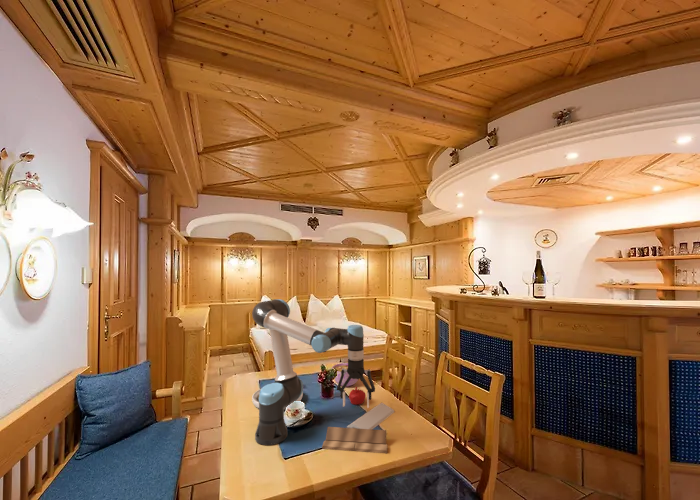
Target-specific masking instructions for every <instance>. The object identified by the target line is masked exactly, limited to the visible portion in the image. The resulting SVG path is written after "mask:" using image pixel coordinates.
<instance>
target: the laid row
mask: <svg viewBox="0 0 700 500" xmlns="http://www.w3.org/2000/svg"><path fill="white" fill-rule="evenodd" d="M321 448H322V450H334V451H349V452H362V453H363V452H365V453H376V454H377V453H378V454H388V444H387V443H386V444H371V443H355V442H341V441H327V440H326V439H325V440H323V442H322V446H321Z"/></svg>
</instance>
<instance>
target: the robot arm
mask: <svg viewBox="0 0 700 500" xmlns="http://www.w3.org/2000/svg"><path fill="white" fill-rule="evenodd" d="M251 313H252V314H251V316H252V319H253V322H254V323H255V324H257V325H258V326H260V327H262V328H264V329H266V330H267V329H268V330H269V334H270V338H271V347H272V352H273V358H274V364H275V370H276V377H275V378H274V382H271V383H268V384H265V385H264V386H262V387H261V388H262V389H261V388H260V389H261V390H260V393H259V408H258V409H259V410H258V425H257V427H256V430H255V435H254V440H255V443H257V444H259V445H262V446H273V445H277V444H280V443H282V442H283V441H285V440H286V439H287V437H288V428H287V424H286V422H285V410H284V408H285V407H287V406H288V405H290V404H291V403H293V402H294V401H296V400H297V399H298V398H299V397H300V396H301V395H302V392H303V393H304V383H303V381H302V379H300V377H299V376H298V373H297V372H296V371H294V368H293V360H292V355H291V349H290V344H289V338H288V337H290V338H293V339H295V340H297V341H300V342H302V343H304V344H307V345H309V346H311V348H312V349H313V350H314V352H316V353H317V354H318V353H319V354H320V353H325V352H327V351H328V350H330V349H332V348H335V347H336V346H337V345H338V346H339V345H341V346H347V363H348V369H344V368H343V369H342V370H341V377H340V380H339V383H337V387H336V391H339V392H340V399H342V407H345V406H346V390H345V388H347V387H346V386H347V384H348V382H349V381H350V379H351V378H352V379H358V380H360V382H361V383H362V384H363V386H364V387H365V389H366V390H367V392H366V407H367V409H369V408H370V400H372V393H375V392H376V387H375V385H374V381H373V378H372V375H371V369H365V366H364V365H365V364H364V362H365V361H364V360H365V359H364V352H365V351H364V350H365V349H364V348H365V347H364V339H365V338H364V336H365V335H364V328H363V326H362V325H360V324H350V325H348V326H347V328H337V327H326V329H325V330H324V332H323V331H320V330H319V329H316V328H314V327H311V326H309V325H307V324H304V323H302V322H299V321H297V320H295V319H292V318H290V317H289V316H290V314H291V308H290V305H289V304H288V302H287V301H285V300H283V299H279V298H276V299H272V300H271V299H270V300H265V301H260V302H258V303H257V304H256V305H254V307H253V308H252V312H251ZM346 372H347V373H348V374H349V377H348V378H347V380H346V382H345V383H344V385H343V386H341V383H342V380H343V377H344V374H346ZM364 374H365V375H366V376H367V379H368V382H369V384H370V385H369V384H368V382H367V380H366V379H365V376H364Z"/></svg>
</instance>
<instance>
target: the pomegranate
mask: <svg viewBox="0 0 700 500" xmlns="http://www.w3.org/2000/svg"><path fill="white" fill-rule="evenodd" d="M366 398H367V394H366V393H365V391H364V390H363V389H361V387H359V388H358V387H357V386H355V388H354V389H351V391H350V392H349V394H348V399H349V402H350V404H351V405H362V404H363V403H364V402H365V401H366Z"/></svg>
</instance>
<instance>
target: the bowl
mask: <svg viewBox="0 0 700 500" xmlns="http://www.w3.org/2000/svg"><path fill="white" fill-rule="evenodd" d="M262 388H263V387H261V388H260V389H257V390H256V391H255V392H254V393H253V394H252V396H251V402H252V403H253V404H252V405H253V406H255V408H257V409H259V393H260V390H261V389H262ZM303 395H304V391H303V392H302V395H301V396H300V397H299V398H298V399H297V400H296V401H300V402H301V401H302V398H303V397H304V396H303ZM285 410H287V409H286V407H285V408H284V411H285Z"/></svg>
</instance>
